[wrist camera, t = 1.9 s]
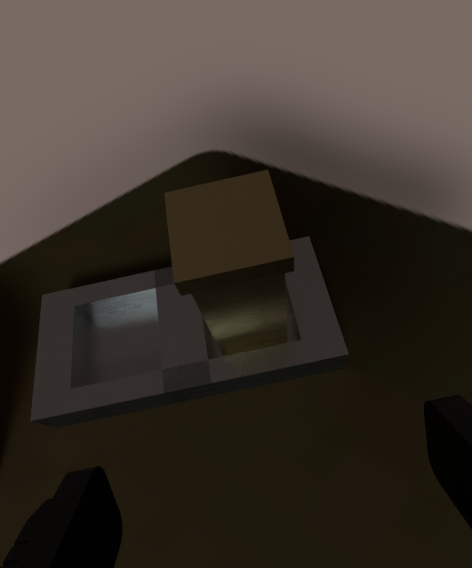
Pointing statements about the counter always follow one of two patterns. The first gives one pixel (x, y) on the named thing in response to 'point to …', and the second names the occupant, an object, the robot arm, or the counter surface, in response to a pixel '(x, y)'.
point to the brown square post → (232, 258)
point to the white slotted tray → (167, 345)
